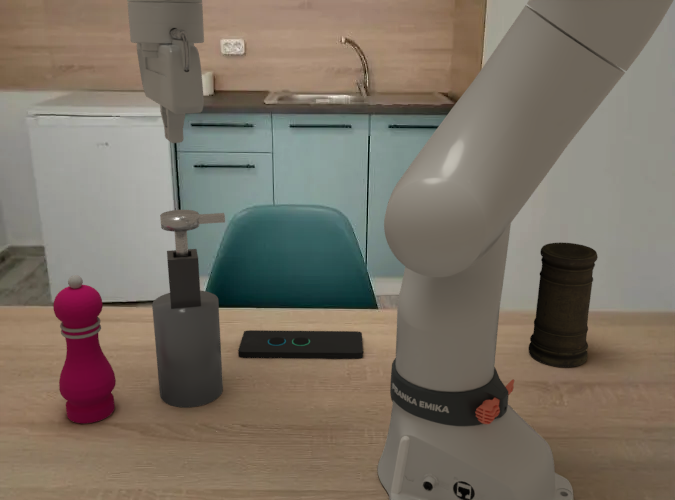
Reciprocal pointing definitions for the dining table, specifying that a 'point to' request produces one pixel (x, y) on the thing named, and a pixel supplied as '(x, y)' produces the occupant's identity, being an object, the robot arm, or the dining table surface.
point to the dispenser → (187, 337)
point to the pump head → (186, 225)
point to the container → (563, 305)
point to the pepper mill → (83, 354)
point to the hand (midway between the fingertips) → (174, 141)
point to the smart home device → (301, 344)
